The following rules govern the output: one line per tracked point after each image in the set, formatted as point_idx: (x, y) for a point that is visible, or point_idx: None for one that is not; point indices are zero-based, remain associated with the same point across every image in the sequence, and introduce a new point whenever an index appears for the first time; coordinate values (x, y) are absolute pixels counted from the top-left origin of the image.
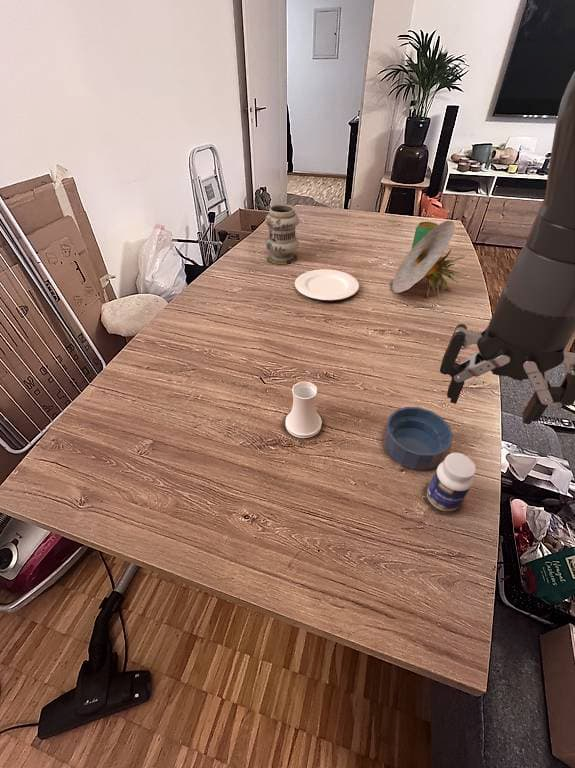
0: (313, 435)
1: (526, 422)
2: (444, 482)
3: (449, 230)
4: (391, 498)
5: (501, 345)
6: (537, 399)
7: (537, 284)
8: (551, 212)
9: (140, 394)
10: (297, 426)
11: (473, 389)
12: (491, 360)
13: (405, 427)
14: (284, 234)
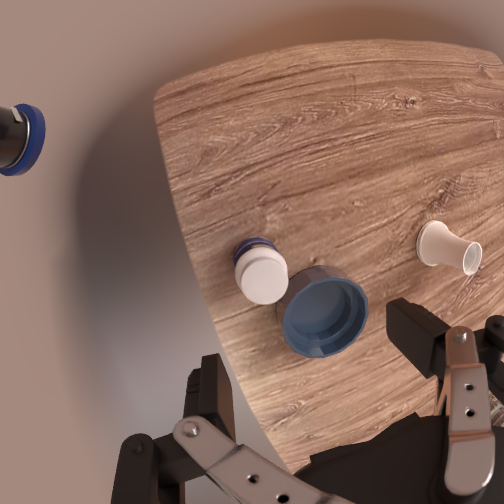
0: (419, 235)
1: (211, 356)
2: (269, 249)
3: None
4: (308, 212)
5: (498, 497)
6: (218, 424)
7: None
8: None
9: None
10: (440, 227)
11: (281, 417)
12: (490, 432)
13: (335, 322)
14: (497, 419)
